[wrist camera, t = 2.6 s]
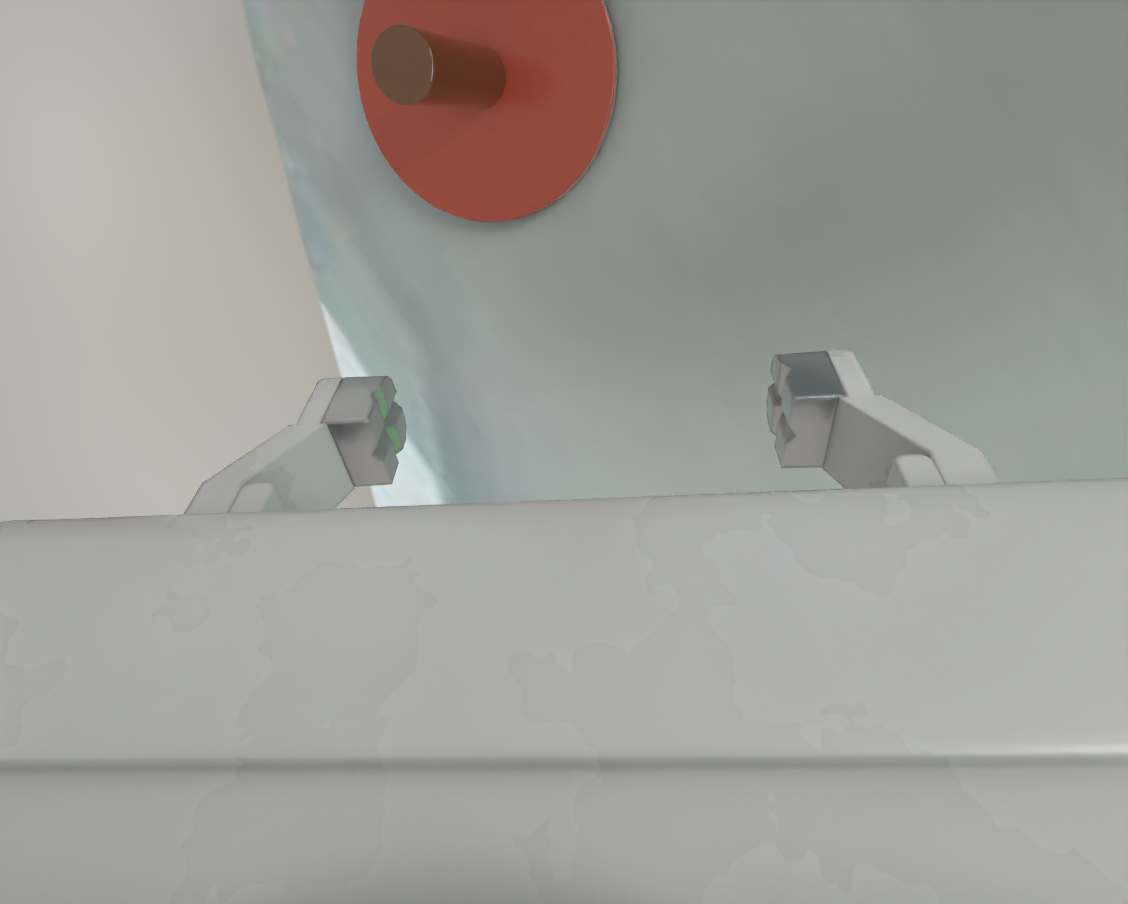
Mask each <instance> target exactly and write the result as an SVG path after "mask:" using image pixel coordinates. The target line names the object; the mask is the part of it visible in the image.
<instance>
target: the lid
mask: <svg viewBox="0 0 1128 904" xmlns="http://www.w3.org/2000/svg"><path fill="white" fill-rule="evenodd" d="M357 72H358V83H359V88H360V94H361V100H362V104H363V107H364V111H365V114H366V118H367V121H368V123H369V126H370V128H371V131H372V133H373V136H374V138H375V140H376V142H377V144H378V146H379V148H380V150H381V151H382V153H383V155H384V156H385V158H386V159H387V161H388V162H389V164H390V165H391V167H392V168H393V169H394V171H395V172H396V173H397V174H398V175H399V177H400V178H401V179H402V180H403V181H404V182H405V183H406V184H407V185H408V186H409V187H410V188H411V189H412V190H413V191H414V192H415V193H416V194H418V195H419V196H420V197H422V198H423V199H424V200H426V201H427V202H428V203H430V204H432V205H434V206H435V207H437V208H439V209H441V210H442V211H445V212H447V213H450V214H452V215H455V216H457V217H461V218H465V219H469V220H473V221H482V222H502V221H508V220H513V219H519V218H522V217H524V216H527V215H530V214H533V213H536V212H538V211H540V210H542V209H544V208H545V207H547V206H549V205H551V204H552V203H554V202H555V201H557V200H558V199H559V198H561V197H562V196H564V195H565V194H566V193H567V192H568V191H569V190H570V189H571V188H572V187H573V186H574V185H575V184H576V183H577V182H578V181H579V180H580V178H581V177H582V176H583V175H584V173H585V172H586V171H587V170H588V168H589V167H590V165H591V163H592V162H593V160H594V158H595V157H596V155H597V154H598V152H599V149H600V147H601V145H602V143H603V141H604V138H605V136H606V133H607V130H608V127H609V124H610V121H611V118H612V113H613V108H614V103H615V98H616V89H617V77H618V70H617V50H616V43H615V36H614V30H613V27H612V23H611V19H610V15H609V11H608V9H607V6H606V3H605V1H604V0H365V3H364V7H363V11H362V16H361V20H360V25H359V33H358V40H357Z"/></svg>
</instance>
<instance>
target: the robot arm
mask: <svg viewBox="0 0 1128 904" xmlns="http://www.w3.org/2000/svg"><path fill="white" fill-rule="evenodd" d="M771 374H772V377H773V381H774V383H773V384H772V385H771V386H770V387H769V388H768V395H767V418H768V424H769V428H770V431H771V432H772V433H773V434H775V435H776V441H775V449H776V452H777V455H778V459H779V462H780V465H781V468H801V467H823V469H824V470H825V471H826V472H827V473H828V474H829V475H831V476H832V477H833V478H834V479H835V480H836V481H837V482H838V483H840V484H841V485H842V486H843V487H844V488H845V489H830V490H803V491H777V492H752V493H726V494H701V495H675V496H649V497H624V498H598V499H572V500H547V501H521V502H495V503H469V504H443V505H417V506H392V507H367V508H341V509H335V508H336V506H338V505H339V504H340V503H341V502H342V501H343V500H344V499H345V498H346V497H347V496H348V495H349V494H350V492H352V491H353V490H354V487H357V486H372V485H386V484H392V482H393V479H394V476H395V473H396V470H397V466H398V463H399V462H398V460H397V457H396V454H397V453H398V452H400V451H401V450H402V449H403V447H404V444H405V440H406V423H405V416H404V413H403V410H402V407H400V406H399V405H398V404H397V403H395V402H394V401H393V400H394V397H395V394H396V389H395V386H394V384H393V381H392V379H391V378H390V377H388V376H374V377H346V378H327V379H321V380H319V381H318V382H317V384H316V386H315V388H314V390H313V392H312V394H311V396H310V398H309V400H308V402H307V404H306V406H305V408H304V410H303V412H302V414H301V416H300V418H299V420H298V422H297V423H296V425H289V426H287V427H286V428H284V429H283V430H282V431H280V432H278V433H277V434H275V435H274V436H272V437H271V438H269V439H268V440H266V441H265V442H263V443H262V444H260V445H259V446H257V447H256V448H255V449H253V450H251V451H250V452H248V453H247V454H245V455H244V456H242V457H241V458H239V459H238V460H236V461H235V462H233V463H232V464H230V465H229V466H227V467H226V468H224V469H223V470H221V471H220V472H218V473H217V474H215V475H214V476H212V477H211V478H209V479H208V480H206V481H205V482H203V483H202V484H201V486H200V488H199V489H198V491H197V493H196V494H195V496H194V498H193V499H192V501H191V503H190V504H189V506H188V508H187V509H186V511H185V512H184V514H183V515H160V516H137V517H135V516H134V517H109V518H83V519H60V520H58V519H57V520H14V521H5V522H0V904H1128V478H1113V479H1089V480H1065V481H1040V482H1014V483H1001V482H1000V481H999V479H998V477H997V476H996V474H995V472H994V471H993V469H992V468H991V466H990V464H989V463H988V461H987V459H986V458H985V456H984V455H983V453H982V451H981V450H980V449H978V448H976V447H974V446H972V445H971V444H969V443H967V442H965V441H964V440H962V439H960V438H958V437H956V436H955V435H953V434H951V433H949V432H947V431H946V430H944V429H942V428H940V427H938V426H937V425H935V424H933V423H931V422H929V421H928V420H926V419H924V418H922V417H921V416H919V415H917V414H915V413H913V412H912V411H910V410H908V409H906V408H904V407H903V406H901V405H899V404H897V403H895V402H894V401H892V400H890V399H888V398H887V397H885V396H883V395H875V394H874V392H873V390H872V388H871V386H870V384H869V382H868V380H867V378H866V376H865V374H864V372H863V370H862V368H861V366H860V364H859V362H858V360H857V358H856V356H855V354H854V352H853V351H852V350H851V349H837V350H826V351H820V352H806V353H791V354H777V355H774V357H773V360H772V365H771Z"/></svg>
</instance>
